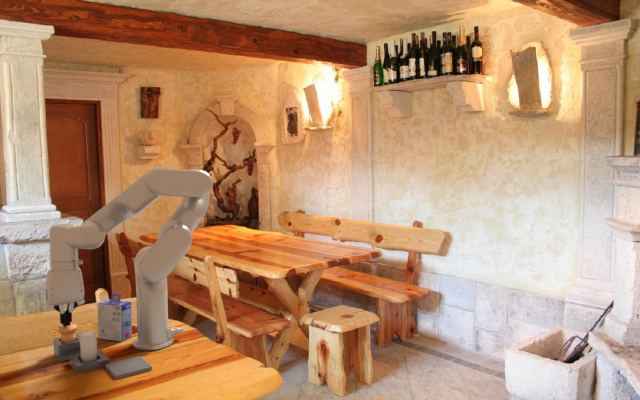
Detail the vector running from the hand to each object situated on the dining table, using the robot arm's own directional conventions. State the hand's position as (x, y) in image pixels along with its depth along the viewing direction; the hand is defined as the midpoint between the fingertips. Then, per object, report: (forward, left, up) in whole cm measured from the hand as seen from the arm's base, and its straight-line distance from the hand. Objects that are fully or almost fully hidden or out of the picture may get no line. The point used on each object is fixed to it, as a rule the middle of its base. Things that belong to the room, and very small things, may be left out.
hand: (66, 325), depth 163 cm
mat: (-11, +21, -10) cm, 26 cm away
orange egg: (0, 0, -6) cm, 6 cm away
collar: (-3, +11, -10) cm, 15 cm away
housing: (0, 0, -10) cm, 10 cm away
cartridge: (-3, +11, -10) cm, 15 cm away
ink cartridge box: (-16, -7, -10) cm, 20 cm away
